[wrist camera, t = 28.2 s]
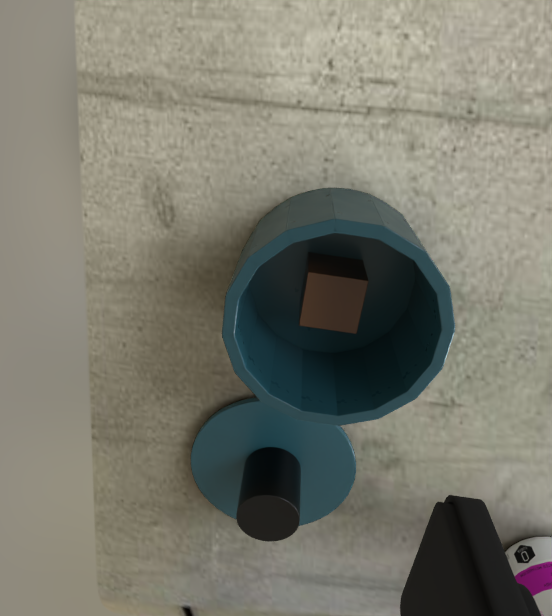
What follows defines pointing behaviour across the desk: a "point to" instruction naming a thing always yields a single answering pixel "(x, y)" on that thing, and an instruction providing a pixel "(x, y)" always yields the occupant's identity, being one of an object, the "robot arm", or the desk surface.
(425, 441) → the desk surface
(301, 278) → the tin
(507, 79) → the desk surface
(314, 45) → the desk surface
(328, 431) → the lid
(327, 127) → the desk surface
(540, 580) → the supplement can
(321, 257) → the block
